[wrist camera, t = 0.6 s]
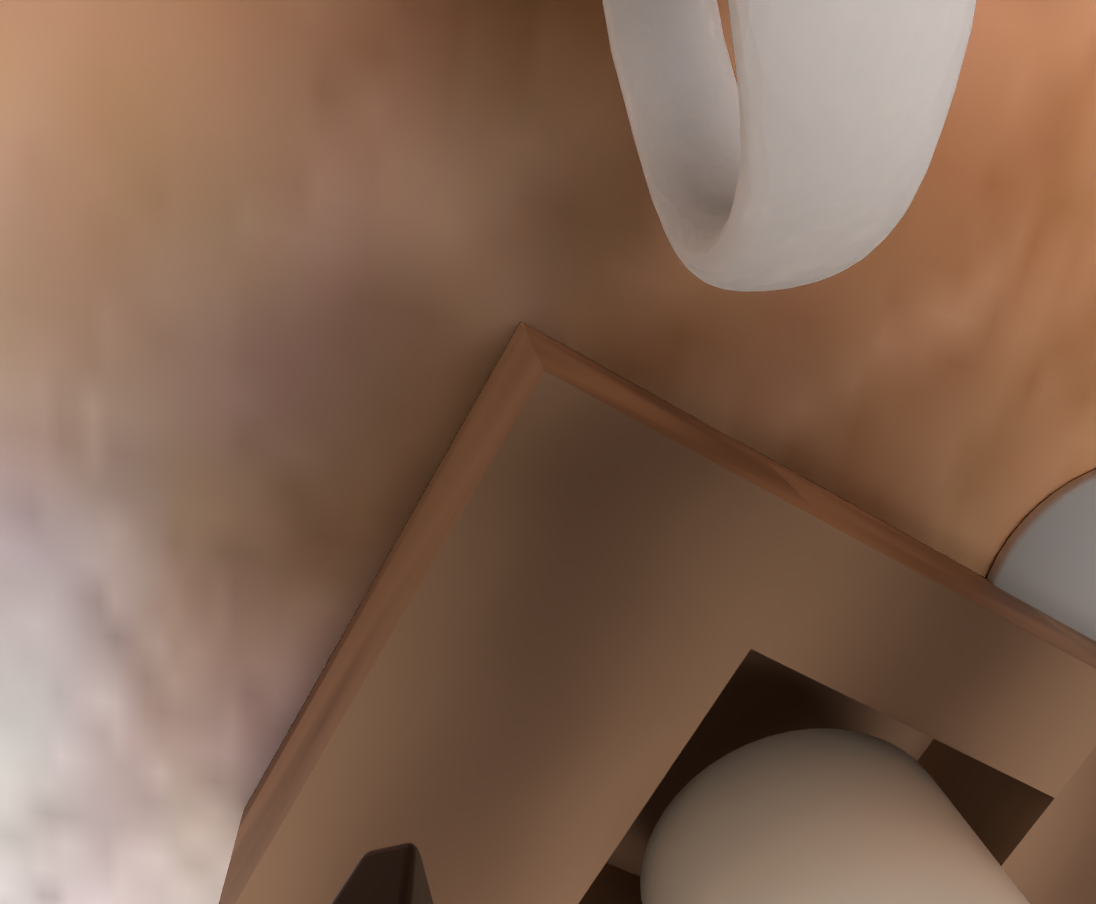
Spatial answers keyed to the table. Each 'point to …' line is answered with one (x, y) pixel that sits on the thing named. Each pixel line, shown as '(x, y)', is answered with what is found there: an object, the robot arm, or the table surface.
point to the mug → (785, 125)
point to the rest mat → (1055, 557)
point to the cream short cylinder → (818, 831)
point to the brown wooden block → (650, 661)
